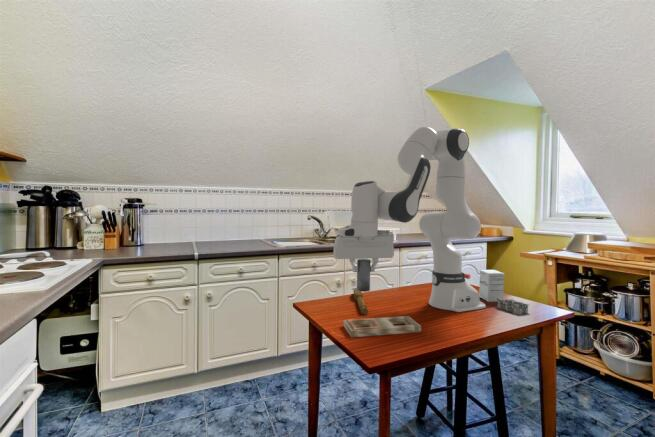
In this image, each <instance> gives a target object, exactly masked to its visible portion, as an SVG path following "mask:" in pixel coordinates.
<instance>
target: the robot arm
mask: <svg viewBox="0 0 655 437" xmlns="http://www.w3.org/2000/svg"><path fill="white" fill-rule="evenodd" d="M469 145H470V138H469V135H468V133H467V132H466V131H465V130H464V129H462V128H451V129H442V130H438V131H435V130H434V129H433V128H431V127H428V126H421V127H418V128H417V129H416V130H414V132H412V133H411V135H410V136H409V137H408V138H407V139H406V141H405V142H404V144H403V146H401V149H400V150H399V152H398V154H397V163H398V165H399V168H400V169H401V170H402V171H403V172H405V174H407V175H409V178H408V181H407V184H406V186H405V188H403V189H401V190H399V191H385V190H383V189H382V188H381V187H379V186H378V184H377V182H376V181H375V180H368V181H360V182H357V183H355V184H354V186H353V188H352V191H351V203H350V209H351V214H352V217H351V219H350V224H348V225H346V226H342V227H340V228H337V229H336V233H337V235H338V236H336V238H335V239H334V243H333V251H332V252H333V257H334V258H335V259H336V260H342V259H343V260H348V262H349V263H350V265H351V267H352V268H351V269H352V270H351V271H352V272H353V273H357V272H358V267H357V265H356V264H355V262H356V260H358V259H372V261H373V262H371V263H372V264H370V273H373V272H376V266H377V265H378V263H379V259H392V258H393V257H394V255H395V247H394V240H395V234H394V233H393V232H392V231H390V230H389V229H386V230H385V229H384V230H382V229H378V228H379V225H378V224H379V220H384V221H392V222H393V221H394V222H398V223H405V224H406V223H409V222H411V221H412V220H413V219H414V218H415V217H416V216H417V214H418V211H419V206H420V202H421V201H420V200H421V199H422V198H421V197H422V195H423V193H424V190H425V187H426V184H427V182H428V179H429V177H430V173H431V168H432V167H431V162H430V161H438V165H437V170H436V171H437V172H436V186H435V187H436V188H435V196H436V199H437V200H439V201H440V202H442V203H443V204H444V205H445V207H446V211H432V212H431V211H429V212H426V213H423V214H422V215H421V217H420V220H419V224H418V225H419V228H420V231H421V233H422V234H423V235H424V236H425V237H426V239H427V240H428V242H429V243H430V245H431V249H432V254H433V255H432V256H433V269H432V271H431V272H432V273H431V274H432V275H431V281H432V282H431V283H432V286H431V293H430V296H429V297H430V298H429V300H428V305H430V306H431V307H433V308H435V309H436V308H437V309H440V310H445V311H453V312H456V313H460V312H461V313H463V312H467V311H474V310H480V309H482V310H483V309H486V308H487V306H486V303H484V302H483V301H481V300H480V297H479V290H477V289H476V288H474V287H473V285H471V284H470V283H469V282H467V281H466V279H467V280H470V279H471V276H472V275H471V274H469V273H467V272H466V273H464V272H463V270H462V269H463V268H462V267H463V265H462V264H463V263H462V262H463V255H462V253H461V251H460V250H459V249H458V248H456V247H455V246H454V245H453V243H452V240H462V241H463V240H473V239H476V237H478V235H479V233H480V232H481V229H482V225H481V224H482V223H481V220H480V219H479V217H478V215H476V214H475V213H473V211H472V210H471V209H470V207H469V205H468V203H467V200H466V164H465V158H464V157H465V154H467V151H468V149H469Z"/></svg>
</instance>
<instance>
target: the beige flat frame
mask: <svg viewBox="0 0 655 437" xmlns="http://www.w3.org/2000/svg"><path fill="white" fill-rule="evenodd" d="M402 324H403V325H402ZM343 327H344V329H345V331H346V332H347V333H348V334H349V336H350V337H351V338H357V337H359V338H361V337H373V336H384V335H385V336H387V335H399V334H412V333H413V334H414V333H421V332H422V325H421V324H419V323H418V322H416V320H414V319H413V318H412V317H411V316H409V315H404V316H403V315H402V316H392V317H391V316H388V317H375V318H374V317H372V318H371V317H370V318H367V317H365V318H353V319H344V320H343Z"/></svg>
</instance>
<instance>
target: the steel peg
mask: <svg viewBox="0 0 655 437" xmlns="http://www.w3.org/2000/svg"><path fill="white" fill-rule="evenodd" d="M356 266H357V267H358V272H356V288H357V290H358V291H361V292H370V290H371V272H370V266H371V259H370V258H364V259H356Z"/></svg>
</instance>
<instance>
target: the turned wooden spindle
mask: <svg viewBox="0 0 655 437" xmlns="http://www.w3.org/2000/svg"><path fill="white" fill-rule="evenodd" d="M352 292H353V298H354V300H355V301H356V302H357V305H358V309H359V312H360V313H361V315H363V316H367V315H368V313H369V310H368V307H367V305H366V304H365V302H364V298H363V296H364V295H363V293H362V292H363V291H358V290H357V287H355V288H354V289H353V290H352Z"/></svg>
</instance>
